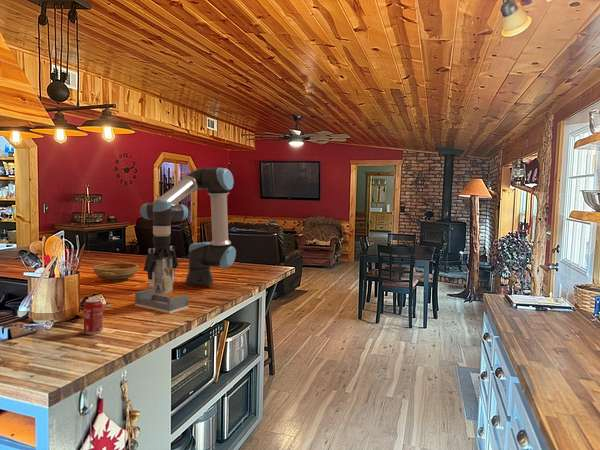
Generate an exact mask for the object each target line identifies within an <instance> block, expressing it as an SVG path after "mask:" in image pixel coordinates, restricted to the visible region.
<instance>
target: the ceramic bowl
mask: <svg viewBox="0 0 600 450" xmlns="http://www.w3.org/2000/svg"><path fill="white" fill-rule="evenodd" d="M139 267H140V266H139V264H137V263H133V262H109V263H101V264H96V265H94V266H92V268H93V272H94V274H95V275H96V276H97V277H99V278H101V279H105V281H106V282H108V281H109V283H118V282H119V281H120V282H125V281H127V280H128V279H129V278H131V277H133V276H134V275H136V273H137V272H138V270H139Z"/></svg>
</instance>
